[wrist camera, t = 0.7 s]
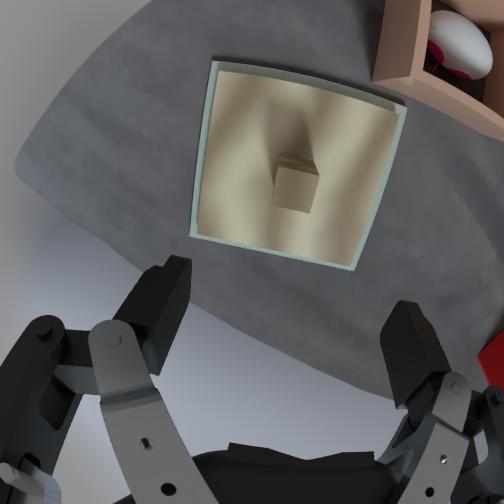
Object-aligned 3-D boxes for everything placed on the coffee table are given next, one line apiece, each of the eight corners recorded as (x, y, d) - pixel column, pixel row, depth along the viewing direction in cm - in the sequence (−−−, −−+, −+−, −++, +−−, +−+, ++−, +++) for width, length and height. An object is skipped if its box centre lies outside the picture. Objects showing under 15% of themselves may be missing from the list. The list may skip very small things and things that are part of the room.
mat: (404, 107, 21) (407, 107, 21) (352, 268, 30) (353, 271, 30) (213, 61, 21) (212, 60, 21) (191, 233, 31) (189, 236, 30)
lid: (395, 113, 21) (423, 119, 16) (348, 261, 29) (358, 296, 24) (221, 71, 21) (202, 64, 16) (199, 229, 30) (180, 259, 24)
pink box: (495, 31, 14) (546, 26, 6) (480, 133, 21) (535, 154, 13) (389, -29, 14) (422, -65, 6) (371, 82, 21) (409, 76, 13)
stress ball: (398, 41, 20) (399, 58, 17) (437, -6, 13) (449, 0, 10) (451, 86, 21) (461, 113, 18) (492, 45, 14) (513, 65, 11)
